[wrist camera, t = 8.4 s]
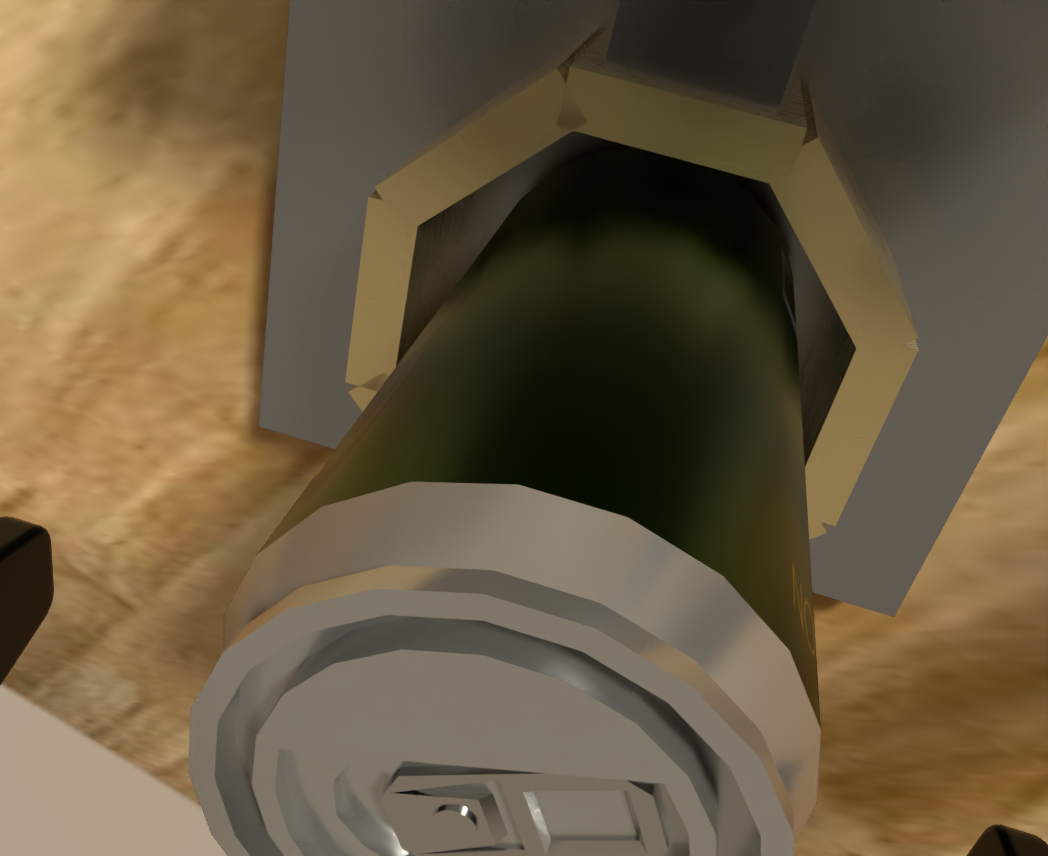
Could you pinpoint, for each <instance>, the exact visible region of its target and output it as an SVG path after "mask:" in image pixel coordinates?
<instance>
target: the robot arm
mask: <svg viewBox="0 0 1048 856" xmlns="http://www.w3.org/2000/svg"><path fill="white" fill-rule="evenodd" d="M53 595H54V582H53V566H52V550H51V539H50V535H49V533H48V531H47V530H46V529H45V528H43V527H42V526H39V525H36V524H33V523H30V522H27V521H23V520H20V519H17V518H14V517H7V516H5V517H0V685H1V684H2V682H3V681H4V679H5V678H6V676H7V675H8V673H9V672H10V670H11V669H12V667H13V666H14V664H15V663H16V661H17V659H18V658H19V656H20V655H21V653H22V652H23V650H24V649H25V647H26V646H27V644H28V643H29V641H30V640H31V638H32V637H33V635H34V634H35V632H36V631H37V629H38V628H39V626H40V625H41V623H42V622H43V620H44V618H45V617H46V615H47V613H48V611H49V609H50V607H51V603H52V600H53ZM967 856H1048V845H1047V843H1046V842H1045V841H1043V840H1042V839H1041V838H1039V837H1037V836H1035V835H1033V834H1029V833H1026V832H1023V831H1020V830H1017V829H1013V828H1010V827H1007V826H1004V825H996V824H995V825H992V826H990V827H988V828H987V829H986V830H985V831H984V832H983V833H982V835H981V836H980V838H979V839H978V840H977V842H976V843H975V845H974V846H973V847H972V849H971V850H970V851H969V853H968V854H967Z"/></svg>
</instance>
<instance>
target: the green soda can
mask: <svg viewBox="0 0 1048 856" xmlns="http://www.w3.org/2000/svg"><path fill="white" fill-rule="evenodd" d="M820 736H821V724H820V707H819V691H818V675H817V658H816V642H815V626H814V609H813V593H812V576H811V560H810V544H809V527H808V511H807V494H806V478H805V462H804V445H803V429H802V413H801V396H800V380H799V363H798V347H797V331H796V314H795V298H794V281H793V273H792V270H791V267H790V264H789V261H788V258H787V255H786V252H785V249H784V246H783V243H782V240H781V237H780V234H779V231H778V229H777V228H776V226H775V225H774V224H773V222H772V221H771V220H770V219H769V217H768V216H767V215H766V213H765V212H764V211H763V209H762V208H761V207H760V206H759V204H758V203H757V202H756V200H755V199H754V198H753V197H752V195H751V194H750V193H749V191H748V190H747V189H745V188H744V187H742V186H741V185H739V184H738V183H736V182H735V181H733V180H732V179H730V178H729V177H727V176H726V175H724V174H723V173H721V172H719V171H718V170H716V169H714V168H710V167H706V166H703V165H699V164H695V163H692V162H688V161H684V160H680V159H677V158H673V157H669V156H665V155H662V154H658V153H654V152H651V151H647V150H643V149H625V150H607V151H601V152H598V153H596V154H593V155H591V156H588V157H585V158H583V159H580V160H578V161H575V162H573V163H570V164H568V165H565V166H562V167H560V168H557V169H556V170H554V171H553V172H552V173H551V174H550V175H549V176H547V177H546V178H545V179H544V180H543V181H541V182H540V183H539V184H538V185H537V186H536V187H534V188H533V189H532V190H531V191H530V192H528V193H527V194H526V195H525V196H524V197H522V198H521V199H520V200H519V202H518V203H517V204H516V206H515V207H514V208H513V210H512V211H511V212H510V214H509V215H508V216H507V218H506V219H505V220H504V222H503V223H502V225H501V226H500V227H499V229H498V230H497V231H496V233H495V234H494V235H493V237H492V238H491V239H490V241H489V242H488V243H487V245H486V246H485V247H484V249H483V250H482V252H481V253H480V254H479V256H478V257H477V258H476V260H475V261H474V262H473V264H472V265H471V266H470V268H469V269H468V270H467V272H466V273H465V274H464V276H463V277H462V279H461V280H460V281H459V283H458V284H457V285H456V287H455V288H454V289H453V291H452V292H451V293H450V295H449V296H448V297H447V299H446V300H445V301H444V303H443V304H442V305H441V307H440V308H439V310H438V311H437V312H436V314H435V315H434V316H433V318H432V319H431V320H430V322H429V323H428V324H427V326H426V327H425V328H424V330H423V331H422V332H421V334H420V335H419V337H418V338H417V339H416V341H415V342H414V343H413V345H412V346H411V347H410V349H409V350H408V351H407V353H406V354H405V355H404V357H403V358H402V359H401V361H400V362H399V364H398V365H397V366H396V368H395V369H394V370H393V372H392V373H391V374H390V376H389V377H388V378H387V380H386V381H385V382H384V384H383V385H382V386H381V388H380V389H379V391H378V392H377V393H376V395H375V396H374V397H373V399H372V400H371V401H370V403H369V404H368V405H367V407H366V408H365V409H364V411H363V412H362V413H361V415H360V416H359V417H358V419H357V420H356V422H355V423H354V424H353V426H352V427H351V428H350V430H349V431H348V432H347V434H346V435H345V436H344V438H343V439H342V440H341V442H340V443H339V444H338V446H337V447H336V449H335V450H334V451H333V453H332V454H331V455H330V457H329V458H328V459H327V461H326V462H325V463H324V465H323V466H322V467H321V469H320V470H319V471H318V473H317V474H316V476H315V477H314V478H313V480H312V481H311V482H310V484H309V485H308V486H307V488H306V489H305V490H304V492H303V493H302V494H301V496H300V497H299V498H298V500H297V501H296V503H295V504H294V505H293V507H292V508H291V509H290V511H289V512H288V513H287V515H286V516H285V517H284V519H283V520H282V521H281V523H280V524H279V525H278V527H277V528H276V530H275V531H274V532H273V534H272V535H271V536H270V538H269V539H268V540H267V542H266V543H265V544H264V546H263V547H262V548H261V550H260V551H259V552H258V554H257V555H256V557H255V559H254V561H253V563H252V565H251V566H250V568H249V570H248V572H247V574H246V576H245V577H244V579H243V581H242V583H241V585H240V586H239V588H238V590H237V592H236V594H235V596H234V597H233V599H232V601H231V603H230V605H229V607H228V608H227V610H226V612H225V614H224V621H223V638H222V654H221V657H220V659H219V660H218V662H217V664H216V666H215V667H214V669H213V671H212V673H211V675H210V676H209V678H208V680H207V682H206V683H205V685H204V687H203V689H202V690H201V692H200V694H199V696H198V697H197V699H196V701H195V703H194V705H193V706H192V708H191V718H190V744H189V770H188V772H189V775H190V778H191V780H192V783H193V786H194V788H195V791H196V794H197V796H198V799H199V802H200V805H201V807H202V810H203V813H204V815H205V818H206V821H207V823H208V826H209V829H210V831H211V834H212V836H213V837H214V838H215V840H216V841H217V842H218V844H219V845H220V846H221V848H222V849H223V850H224V852H225V853H226V854H227V856H793V845H794V843H795V841H796V839H797V837H798V835H799V834H800V832H801V830H802V828H803V827H804V825H805V823H806V821H807V820H808V818H809V816H810V814H811V813H812V811H813V809H814V807H815V806H816V804H817V791H818V773H819V755H820Z"/></svg>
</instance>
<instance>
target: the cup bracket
mask: <svg viewBox="0 0 1048 856" xmlns="http://www.w3.org/2000/svg"><path fill="white" fill-rule="evenodd" d="M625 149H643V150H647V151H651V152H654V153H658V154H662V155H665V156H669V157H673V158H677V159H680V160H684V161H688V162H692V163H695V164H699V165H703V166H706V167H710V168H714V169H716V170H718V171H719V172H721V173H723V174H724V175H726V176H727V177H729V178H730V179H732V180H733V181H735V182H736V183H738V184H739V185H741V186H742V187H744V188H745V189H747V190H748V191H749V193H750V194H751V195H752V197H753V198H754V199H755V200H756V202H757V203H758V204H759V206H760V207H761V208H762V209H763V211H764V212H765V213H766V215H767V216H768V217H769V219H770V220H771V221H772V222H773V224H774V225H775V226H776V228H777V229H778V231H779V234H780V237H781V240H782V243H783V246H784V249H785V252H786V255H787V258H788V261H789V264H790V267H791V270H792V273H793V281H794V298H795V314H796V331H797V347H798V363H799V380H800V396H801V413H802V429H803V445H804V462H805V478H806V494H807V511H808V527H809V544H810V560H811V576H812V592H813V593H816V594H819V595H823V596H826V597H829V598H833V599H836V600H839V601H843V602H846V603H850V604H853V605H856V606H860V607H863V608H866V609H870V610H873V611H876V612H880V613H883V614H886V615H890V616H893V617H894V616H895V614H896V612H897V610H898V609H899V607H900V605H901V603H902V601H903V600H904V598H905V596H906V594H907V592H908V590H909V589H910V587H911V585H912V583H913V581H914V579H915V578H916V576H917V574H918V572H919V570H920V568H921V567H922V565H923V563H924V561H925V559H926V557H927V556H928V554H929V552H930V550H931V548H932V546H933V545H934V543H935V541H936V539H937V537H938V535H939V534H940V532H941V530H942V528H943V526H944V524H945V523H946V521H947V519H948V517H949V515H950V513H951V512H952V510H953V508H954V506H955V504H956V502H957V501H958V499H959V497H960V495H961V493H962V491H963V490H964V488H965V486H966V484H967V482H968V480H969V479H970V477H971V475H972V473H973V471H974V469H975V468H976V466H977V464H978V462H979V460H980V458H981V457H982V455H983V453H984V451H985V449H986V447H987V446H988V444H989V442H990V440H991V438H992V436H993V435H994V433H995V431H996V429H997V427H998V425H999V424H1000V422H1001V420H1002V418H1003V416H1004V415H1005V413H1006V411H1007V409H1008V407H1009V405H1010V404H1011V402H1012V400H1013V398H1014V396H1015V394H1016V393H1017V391H1018V389H1019V387H1020V385H1021V383H1022V382H1023V380H1024V378H1025V376H1026V374H1027V372H1028V371H1029V369H1030V367H1031V365H1032V363H1033V361H1034V360H1035V358H1036V356H1037V354H1038V352H1039V350H1040V349H1041V347H1042V345H1043V343H1044V341H1045V339H1046V338H1047V336H1048V0H290V6H289V20H288V34H287V47H286V61H285V74H284V88H283V102H282V115H281V129H280V143H279V156H278V170H277V183H276V197H275V211H274V224H273V238H272V252H271V265H270V279H269V292H268V306H267V320H266V333H265V347H264V361H263V374H262V388H261V401H260V415H259V427H262V428H266V429H269V430H272V431H276V432H279V433H282V434H286V435H289V436H292V437H296V438H299V439H302V440H306V441H309V442H312V443H316V444H319V445H322V446H326V447H329V448H332V449H336V447H337V446H338V444H339V443H340V442H341V440H342V439H343V438H344V436H345V435H346V434H347V432H348V431H349V430H350V428H351V427H352V426H353V424H354V423H355V422H356V420H357V419H358V417H359V416H360V415H361V413H362V412H363V411H364V409H365V408H366V407H367V405H368V404H369V403H370V401H371V400H372V399H373V397H374V396H375V395H376V393H377V392H378V391H379V389H380V388H381V386H382V385H383V384H384V382H385V381H386V380H387V378H388V377H389V376H390V374H391V373H392V372H393V370H394V369H395V368H396V366H397V365H398V364H399V362H400V361H401V359H402V358H403V357H404V355H405V354H406V353H407V351H408V350H409V349H410V347H411V346H412V345H413V343H414V342H415V341H416V339H417V338H418V337H419V335H420V334H421V332H422V331H423V330H424V328H425V327H426V326H427V324H428V323H429V322H430V320H431V319H432V318H433V316H434V315H435V314H436V312H437V311H438V310H439V308H440V307H441V305H442V304H443V303H444V301H445V300H446V299H447V297H448V296H449V295H450V293H451V292H452V291H453V289H454V288H455V287H456V285H457V284H458V283H459V281H460V280H461V279H462V277H463V276H464V274H465V273H466V272H467V270H468V269H469V268H470V266H471V265H472V264H473V262H474V261H475V260H476V258H477V257H478V256H479V254H480V253H481V252H482V250H483V249H484V247H485V246H486V245H487V243H488V242H489V241H490V239H491V238H492V237H493V235H494V234H495V233H496V231H497V230H498V229H499V227H500V226H501V225H502V223H503V222H504V220H505V219H506V218H507V216H508V215H509V214H510V212H511V211H512V210H513V208H514V207H515V206H516V204H517V203H518V202H519V200H520V199H521V198H522V197H524V196H525V195H526V194H527V193H528V192H530V191H531V190H532V189H533V188H534V187H536V186H537V185H538V184H539V183H540V182H541V181H543V180H544V179H545V178H546V177H547V176H549V175H550V174H551V173H552V172H553V171H554V170H556V169H557V168H560V167H562V166H565V165H568V164H570V163H573V162H575V161H578V160H580V159H583V158H585V157H588V156H591V155H593V154H596V153H598V152H601V151H607V150H625Z"/></svg>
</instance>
